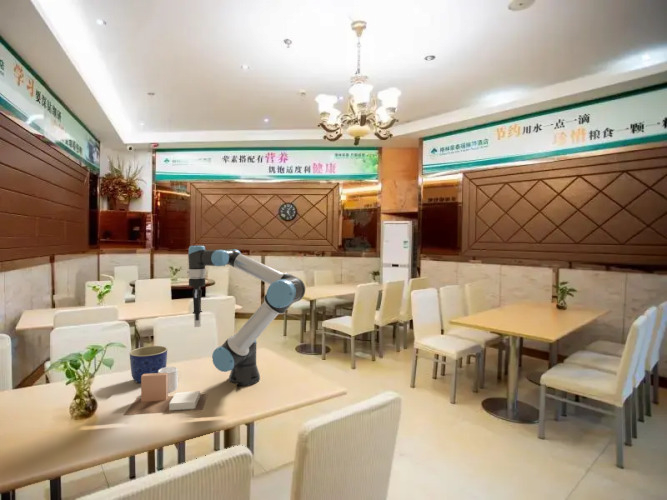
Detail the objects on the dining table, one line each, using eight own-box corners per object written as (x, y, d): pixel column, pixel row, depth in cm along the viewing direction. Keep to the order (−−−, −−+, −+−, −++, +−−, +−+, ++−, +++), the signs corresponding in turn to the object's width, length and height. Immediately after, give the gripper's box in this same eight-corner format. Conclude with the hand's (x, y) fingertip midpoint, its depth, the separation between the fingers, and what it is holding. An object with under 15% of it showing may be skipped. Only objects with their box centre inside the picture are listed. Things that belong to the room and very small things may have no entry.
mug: (150, 398, 167) (149, 375, 167) (148, 391, 174) (148, 369, 174) (178, 393, 173) (178, 370, 173) (176, 386, 180) (176, 365, 180)
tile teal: (199, 391, 165) (195, 401, 154) (199, 398, 165) (195, 409, 154) (175, 392, 163) (169, 403, 152) (175, 399, 163) (169, 411, 152)
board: (208, 396, 169) (208, 393, 169) (202, 412, 154) (202, 409, 154) (137, 400, 164) (137, 398, 164) (123, 418, 148) (123, 415, 148)
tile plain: (167, 397, 165) (167, 372, 165) (166, 400, 162) (165, 375, 162) (143, 398, 164) (143, 373, 163) (141, 401, 161) (141, 376, 160)
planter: (170, 382, 185) (170, 352, 185) (131, 390, 176) (131, 358, 175) (164, 372, 199) (163, 344, 199) (127, 378, 190) (127, 349, 189)
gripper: (190, 276, 185) (191, 324, 186) (186, 279, 173) (187, 330, 173) (206, 276, 187) (207, 323, 188) (203, 278, 174) (204, 329, 175)
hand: (197, 326), depth 180 cm, fingers closed
